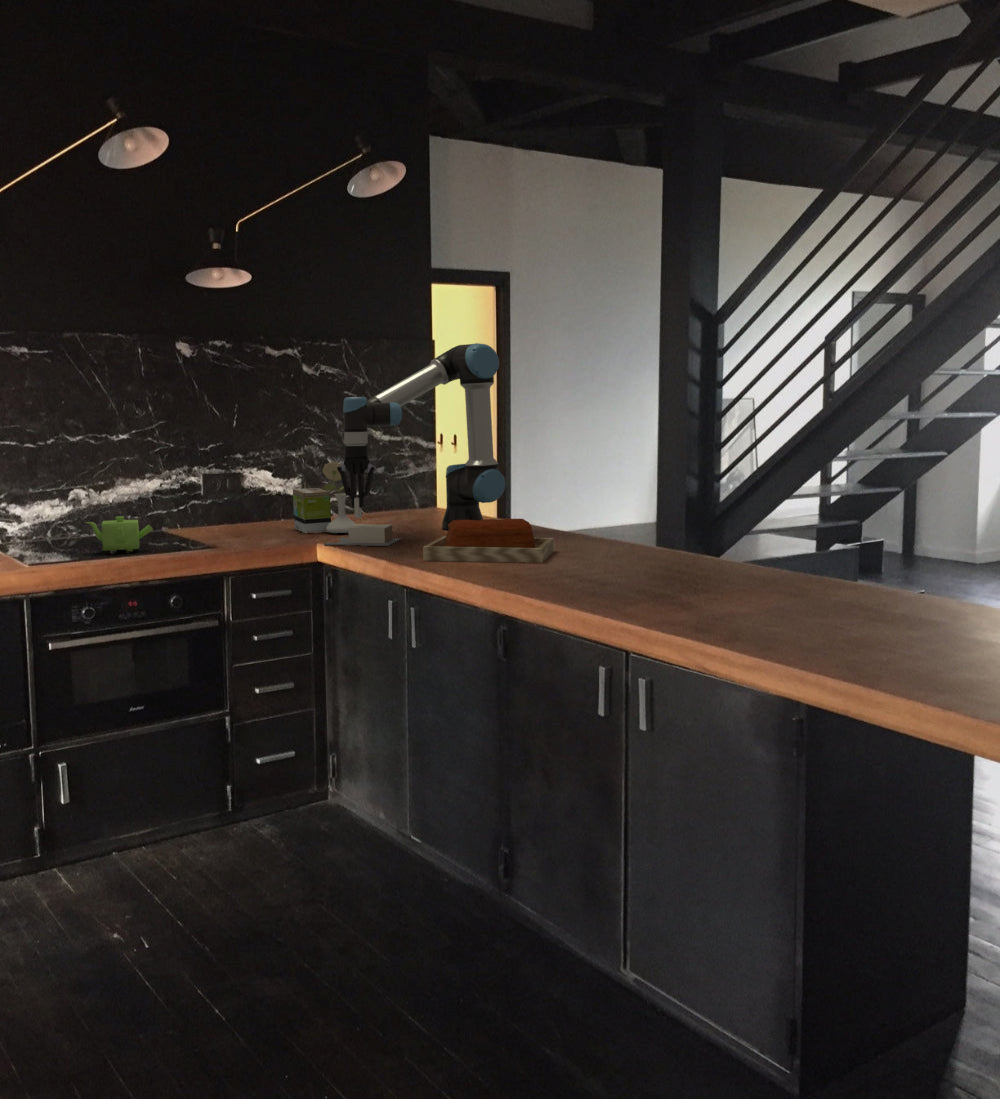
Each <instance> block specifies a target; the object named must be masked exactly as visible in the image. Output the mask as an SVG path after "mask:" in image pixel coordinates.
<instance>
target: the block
mask: <svg viewBox="0 0 1000 1099" xmlns="http://www.w3.org/2000/svg"><path fill="white" fill-rule="evenodd" d="M355 524H356V525H354V526H351V527H348V529H349V533H348V538H349V543H387V542H389V541H391V540H392V539H393V538H394V537H393V536H394V535H393V534H394V533H393V524H371V523H370V524H369V523H367V524H366V523H360V524H359V523H358V524H357V523H355Z"/></svg>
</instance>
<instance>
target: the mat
mask: <svg viewBox="0 0 1000 1099" xmlns="http://www.w3.org/2000/svg"><path fill="white" fill-rule="evenodd" d="M339 538H340V542H337V543H329V542H330V541H328V542H325V543H324V544H323V546H325V547H330V546H329V545H365V546H364V547H367V546H388V547H390V546H392V545H394V544H396V543H398V542H400V541H401V540H402V539H401V538H394V537H393V539H392V540H391V541H389V542H387V543H349V537H339ZM399 540H400V541H399ZM397 541H398V542H397ZM395 542H396V543H395ZM393 543H394V544H393ZM391 544H392V545H391ZM389 545H390V546H389Z"/></svg>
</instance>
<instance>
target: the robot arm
mask: <svg viewBox="0 0 1000 1099" xmlns="http://www.w3.org/2000/svg"><path fill="white" fill-rule="evenodd" d="M499 368H500V359H499V356H498V354H497V352H496V349H494V348H493V347H492V346H490V345H488V344H486V343H481V342H480V343H478V342H476V343H470V344H459V345H456V346H454V347H452V348H450V349H448V350H446V351H445V352H443V353H441V354H440V355H438V356H437V357H435V358H433V359H432V360H430V364H428V365H427V366H425V367H424V368H422V369H420V370H418V371H416V372H414V373H413V374H411V375H409V376H407V377H406V378H404V379H402V380H401V381H399V382H397V383H395V384H394V385H392V386H390V387H388V388H386V389H385V390H383V391H381V392H380V393H378V394H376V395H374V396H372V397H371V398H369V399H368V398H366V396H346V397H345V398H343V405H342V406H343V410H342V413H343V428H344V429H343V436H344V437H343V438H344V439H343V441H344V442H343V443H344V444H345V446H344V460H343V464H342V465H341V466H339V467H337V470H338V471H339V473H340V475H341V483H342V487H343V486H344V488H343V489H344V493H345V494H346V496H347V497H350V499H351V500H350V501H351V508H354V519H361V518H363V516H362V508H364V507H365V497H367V496H369V495H370V494H371V488H372V484H373V478H374V473H375V472H376V470H377V466H374V465H373V464H372V463H371V461H370V460H369V447H368V445H367V444H368V443H369V441H368V439H369V438H368V427H382V426H383V427H384V426H385V427H386V426H387V427H388V426H390V427H391V426H398V425H399V424H400V423H401V421H402V419H403V411H402V407H403V406H405V405H406V404H408V403H410V402H411V401H413V400H415V399H417V398H418V397H420V396H422V395H424V394H426V393H428V392H429V391H430V390H432V389H433V390H434V388H436V387H437V386H439V385H444V386H445V385H447V384H449V383H450V382H453V381H457V380H459V385H460V386H461V387H462V388H463V389H464V397H465V412H466V413H465V415H466V431H467V432H466V434H467V436H466V437H467V449H468V450H467V451H468V452H467V453H468V459H467V461H466V462H465V463H457V464H451V465H448V466H447V467H446V471H445V480H446V481H445V483H446V484H445V487H446V488H445V490H446V507H445V508H446V509H445V513H444V515H443V519H442V521H441V528H442V530H445V531H448V530H449V527H448V524H450V523H451V522H452V521H453V520H483V519H484V517H483V514H482V511H481V509H480V503H481V504H487V503H490V504H491V503H493V502H496V501H497V500H499V499H500V497H501V496H502V495H503V494H504V491H505V488H506V479H505V476H504V475H503V474H502V472H501V471H499V462H498V461H497V459H495V458H494V444H493V441H494V440H493V425H492V405H491V404H492V403H491V387H492V386H493V385H494V383H495V380H494V378H495V377H494V376H495V375H496V373H497V371H498V370H499ZM347 471H348V472H349V477H350V478H349V479H348V474H347ZM365 471H368V472H367V475H366V476H367V477H366V482H365ZM349 480H350V483H349ZM357 491H358V492H357ZM357 493H358V495H357Z"/></svg>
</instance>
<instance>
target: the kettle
mask: <svg viewBox="0 0 1000 1099" xmlns="http://www.w3.org/2000/svg"><path fill="white" fill-rule="evenodd" d="M124 518H125V516H124V515H123V516H120V515H119V516H115V519H114V520H113V519H112V520H103V521H102V522H101V531H100V530H99V528H98V526H97V524H96V523H95V522H94V521H85V522H84V523H85V524H88V525H89V526H90V527H91V528H92V530H93V533H94V535H95V537H96V539H98V540H99V541H100V542H102V551H116V552H117V551H119V550H125V551H126V552H127V551H133V549H134V550H139V549H140V539H142V538H143V537H145V536H146V535H148V534H149V533H150V532H152V531H153V530H154V529H153V528H152V526H151V525H150V524H147V525H146V526H145V527H143V529H141V530H140V528H139V527H140V525H139V519H124Z"/></svg>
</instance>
